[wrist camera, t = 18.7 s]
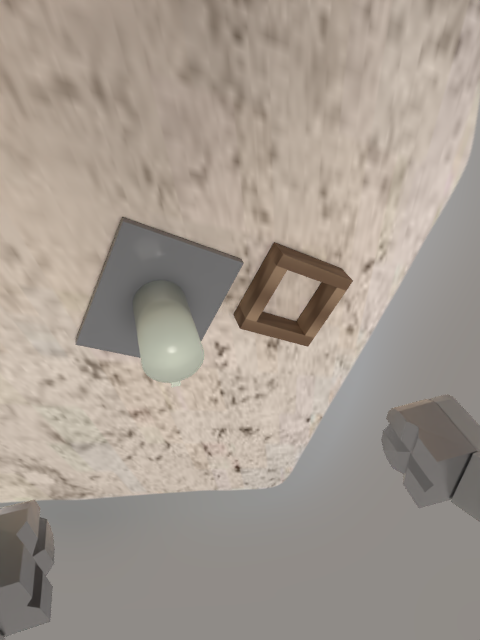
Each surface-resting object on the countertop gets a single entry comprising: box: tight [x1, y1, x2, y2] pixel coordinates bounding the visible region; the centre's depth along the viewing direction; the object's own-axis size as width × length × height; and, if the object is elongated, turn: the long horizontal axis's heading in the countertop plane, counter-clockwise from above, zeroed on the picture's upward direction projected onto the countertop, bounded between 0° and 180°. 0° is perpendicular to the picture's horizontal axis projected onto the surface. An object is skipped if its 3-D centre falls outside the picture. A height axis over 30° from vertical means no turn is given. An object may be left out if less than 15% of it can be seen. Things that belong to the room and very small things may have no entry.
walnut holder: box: [234, 242, 353, 346], centre depth 54 cm, size 10×10×3 cm
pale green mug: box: [133, 280, 204, 387], centre depth 47 cm, size 8×6×10 cm
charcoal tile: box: [76, 217, 243, 358], centre depth 50 cm, size 16×14×1 cm
